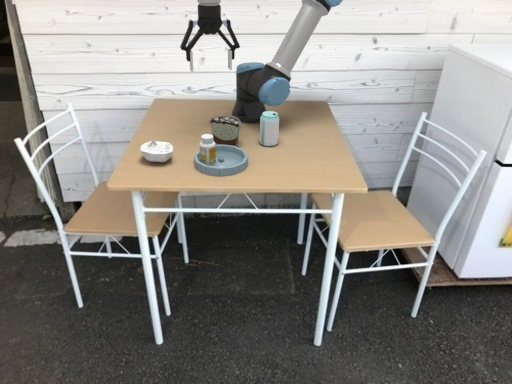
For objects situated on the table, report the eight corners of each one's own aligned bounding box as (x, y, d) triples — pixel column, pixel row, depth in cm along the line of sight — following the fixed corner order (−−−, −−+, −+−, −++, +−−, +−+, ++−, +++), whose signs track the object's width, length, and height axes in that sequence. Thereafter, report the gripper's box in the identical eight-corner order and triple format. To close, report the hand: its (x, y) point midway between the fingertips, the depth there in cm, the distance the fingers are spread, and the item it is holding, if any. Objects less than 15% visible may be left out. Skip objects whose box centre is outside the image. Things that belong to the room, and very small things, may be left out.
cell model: (161, 170, 135) (159, 152, 132) (135, 161, 141) (132, 143, 137) (181, 159, 143) (180, 141, 139) (156, 150, 148) (154, 133, 144)
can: (268, 138, 160) (269, 108, 154) (281, 143, 156) (283, 113, 150) (255, 143, 156) (256, 113, 150) (268, 149, 152) (270, 118, 145)
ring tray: (240, 149, 151) (240, 142, 149) (253, 172, 136) (253, 165, 134) (191, 154, 146) (191, 147, 145) (199, 178, 131) (199, 171, 130)
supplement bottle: (216, 158, 142) (215, 132, 137) (216, 165, 137) (215, 139, 132) (200, 158, 142) (199, 132, 136) (199, 166, 137) (198, 139, 132)
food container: (245, 142, 156) (246, 117, 151) (240, 148, 151) (240, 123, 146) (216, 137, 160) (215, 112, 154) (209, 143, 155) (209, 118, 149)
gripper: (243, 2, 138) (242, 65, 150) (169, 2, 132) (174, 68, 143) (249, 5, 132) (248, 70, 144) (171, 5, 126) (176, 74, 137)
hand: (211, 69), depth 143 cm, fingers open, 13 cm apart
